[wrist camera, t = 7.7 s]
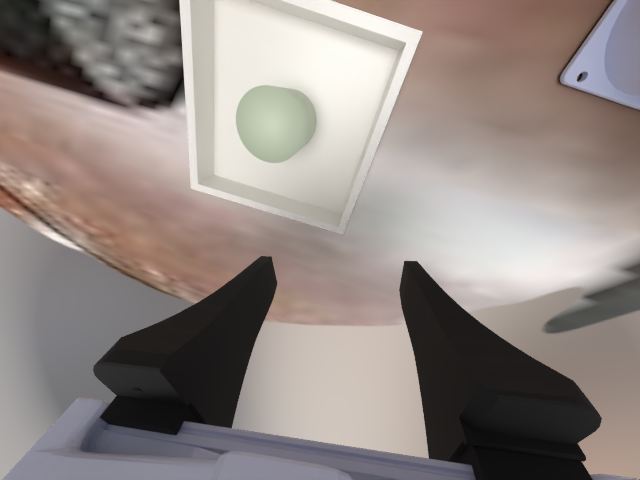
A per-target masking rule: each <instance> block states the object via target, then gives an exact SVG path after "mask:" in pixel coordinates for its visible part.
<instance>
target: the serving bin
mask: <svg viewBox="0 0 640 480" xmlns="http://www.w3.org/2000/svg"><path fill="white" fill-rule="evenodd" d="M180 16H181V33H182V49H183V66H184V82H185V98H186V115H187V131H188V147H189V164H190V180H191V189H194V190H198V191H201V192H204V193H207V194H211V195H214V196H217V197H220V198H224V199H227V200H230V201H233V202H237V203H240V204H243V205H247V206H250V207H253V208H256V209H260V210H263V211H266V212H269V213H273V214H276V215H279V216H283V217H286V218H289V219H292V220H296V221H299V222H302V223H305V224H309V225H312V226H315V227H318V228H322V229H325V230H328V231H332V232H335V233H338V234H341V235H343V234H344V231H345V229H346V226H347V223H348V221H349V218H350V216H351V213H352V211H353V208H354V206H355V203H356V201H357V198H358V195H359V193H360V190H361V188H362V185H363V183H364V180H365V178H366V175H367V172H368V170H369V167H370V165H371V162H372V160H373V157H374V155H375V152H376V150H377V147H378V144H379V142H380V139H381V137H382V134H383V132H384V129H385V127H386V124H387V121H388V119H389V116H390V114H391V111H392V109H393V106H394V104H395V101H396V99H397V96H398V93H399V91H400V88H401V86H402V83H403V81H404V78H405V76H406V73H407V70H408V68H409V65H410V63H411V60H412V58H413V55H414V53H415V50H416V48H417V45H418V42H419V40H420V37H421V35H422V31H419V30H416V29H413V28H410V27H407V26H404V25H401V24H398V23H395V22H392V21H389V20H386V19H384V18H381V17H378V16H375V15H372V14H369V13H366V12H363V11H360V10H357V9H354V8H351V7H348V6H345V5H342V4H339V3H337V2H334V1H331V0H180ZM261 85H269V86H276V87H283V88H290V89H295V90H298V91H300V92H302V93H303V94H305V95H306V96H307V97H308V98H309V99H310V101H311V102H312V104H313V106H314V109H315V112H316V117H317V124H316V130H315V132H314V135H313V137H312V138H311V139H310V141H309V142H308V143H307V144H305V145H304V146H303V147H302V148H301V149H300V150H299V151H298V152H297V153H296V154H294V155H293V156H292V157H291V158H290V159H288V160H286V161H284V162H280V163H269V162H265V161H262V160H260V159H258V158H256V157H255V156H254V155H252V154H251V153H250V152H249V151H248V150H247V149H246V147H245V146H244V144H243V143H242V141H241V139H240V137H239V134H238V131H237V126H236V111H237V107H238V104H239V102H240V100H241V98H242V97H243V96H244V94H245V93H246V92H248V91H249V90H250V89H252V88H254V87H257V86H261Z"/></svg>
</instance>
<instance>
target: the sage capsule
mask: <svg viewBox="0 0 640 480" xmlns="http://www.w3.org/2000/svg"><path fill="white" fill-rule="evenodd" d="M316 124H317V117H316V112H315V109H314V106H313V104H312V102H311V101H310V99H309V98H308V97H307V96H306V95H305V94H303V93H302V92H300V91H298V90H295V89H290V88H283V87H276V86H269V85H261V86H257V87H254V88H252V89H250V90H249V91H248V92H246V93H245V94H244V96H243V97H242V98H241V100H240V102H239V104H238V107H237V111H236V126H237V131H238V134H239V137H240V139H241V141H242V143H243V144H244V146H245V147H246V149H247V150H248V151H249V152H250V153H251V154H252V155H254V156H255V157H256V158H258V159H260V160H262V161H265V162H269V163H280V162H284V161H286V160H288V159H290V158H291V157H292V156H293V155H294V154H296V153H297V152H298V151H299V150H300V149H301V148H302V147H303V146H304V145H305V144H307V143H308V142H309V141H310V139H311V138H312V137H313V135H314V132H315V130H316Z"/></svg>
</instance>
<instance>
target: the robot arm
mask: <svg viewBox="0 0 640 480" xmlns="http://www.w3.org/2000/svg"><path fill="white" fill-rule="evenodd" d="M580 73H582V78H581V79H580V80H579V81H577V77H578V75H579V74H580ZM560 81H561V83H562V84H564V85H567V86H570V87H573V88H576V89H579V90H582V91H584V92H587V93H590V94H593V95H596V96H599V97H602V98H605V99H608V100H611V101H614V102H617V103H620V104H623V105H626V106H629V107H632V108H635V109H637V110H640V0H614V1H613V2H612V3H611V5H610V6H609V8H608V9H607V10H606V12H605V13H604V15H603V16H602V17H601V19H600V20H599V22H598V23H597V25H596V26H595V27H594V29H593V30H592V32H591V33H590V34H589V36H588V37H587V39H586V40H585V41H584V43H583V44H582V46H581V47H580V48H579V50H578V51H577V53H576V54H575V56H574V57H573V58H572V60H571V61H570V63H569V64H568V65H567V67H566V68H565V70H564V71H563V73H562V74H561V77H560ZM276 287H277V280H276V276H275V271H274V267H273V262H272V257H266V256H261V257H260V258H258V259H257V260H256V261H254V262H253V263H252V264H251V265H250V266H248V267H247V268H246V269H245V270H243V271H242V272H241V273H240V274H238V275H237V276H236V277H235V278H233V279H232V280H231V281H229V282H228V283H227V284H225V285H224V286H222V287H221V288H220V289H218V290H217V291H215V292H214V293H212V294H211V295H209V296H208V297H206V298H205V299H203V300H201V301H200V302H198V303H196V304H195V305H193V306H191V307H189V308H187V309H185V310H183V311H182V312H180V313H178V314H176V315H174V316H172V317H169V318H167V319H165V320H163V321H161V322H159V323H157V324H154V325H152V326H149V327H147V328H144V329H142V330H139V331H137V332H134V333H132V334H129V335H126V336H124V337H121V338H120V339H119V341H117V342H116V343H115V345H114V346H113V347H112V348H111V349H110V350H109V351H108V352H107V353H106V354H105V355H104V356H103V357H102V358H101V359H100V360H99V361H98V362H97V363H96V364H95V365H94V370H93V371H94V374H95V376H96V377H97V378H98V379H99V380H100V381H101V382H102V383H103V384H104V385H106V386H107V387H108V388H109V389H110V390H111V391H112V392H113V393H115V394H116V395H117V396H116V397H115V399H114V400H113V401H112V402H111V404H110V403H108V402H106V401H103V400H97V399H90V398H83V397H80V398H77V399H76V400H75V402H74V403H73V404H72V405H71V406H70V407H69V408H68V409H67V410H66V411H65V412H64V414H63V415H61V417H60V418H59V419H58V420H57V421H56V422H55V423H54V425H52V426H51V427H50V429H49V430H48V431H47V432H46V433H45V434H44V435H43V436H42V437H41V438H40V439H39V440H38V442H37V443H36V444H35V445H34V446H33V447H32V448H31V449H30V450H29V451H28V452H27V453H26V455H25V456H24V457H23V458H22V459H21V460H20V461H19V462H18V463H17V464H16V465H15V466H14V468H13V469H12V470H11V471H10V472H9V473H8V474H7V475H6V476H5V477H4V478H3V480H640V479H634V478H627V477H621V476H614V475H606V474H594V475H589V473H588V471H587V470H586V468H585V467H584V465H583V463H582V462H581V461H585V460H586V457H585V455H584V453H583V452H582V450H581V449H580V447H579V445H578V444H577V443H578V442H580V441H581V440H583V439H584V438H586V437H587V436H589V435H590V434H592V433H593V432H595V431H596V430H597V429H598V428H599V427H600V423H601V419H602V418H601V417H600V415H599V413H598V412H597V410H596V409H595V408H594V406H593V405H592V404H591V403H590V401H589V400H588V398H587V397H586V396H585V395H584V393H583V392H582V391H581V390H580V388H579V387H578V386H577V385H576V383H575V382H574V381H573V380H571V379H569V378H567V377H566V376H564V375H562V374H560V373H558V372H557V371H555V370H553V369H551V368H550V367H548V366H546V365H544V364H542V363H541V362H539V361H537V360H535V359H534V358H532V357H531V356H529V355H527V354H525V353H524V352H522V351H521V350H519V349H518V348H516V347H514V346H513V345H511V344H510V343H508V342H507V341H505V340H504V339H502V338H501V337H499V336H498V335H497V334H495V333H494V332H492V331H491V330H490V329H488V328H487V327H485V326H484V325H483V324H481V323H480V322H479V321H477V320H476V319H475V318H474V317H473V316H471V315H470V314H469V313H468V312H466V311H465V310H464V309H463V308H462V307H460V306H459V305H458V304H457V303H456V302H455V301H454V300H453V299H452V298H451V297H450V296H449V295H448V294H447V293H446V292H445V291H444V290H443V289H442V288H441V287H440V286H439V285H438V284H437V283H436V282H435V281H434V280H433V279H432V278H431V277H430V275H429V274H428V273H427V272H426V271H425V270H424V269H423V268H422V266H421V265H420V264H419V263H418V262H417V261H404V266H403V272H402V278H401V284H400V298H401V305H402V310H403V314H404V317H405V321H406V325H407V328H408V332H409V336H410V339H411V343H412V347H413V351H414V355H415V361H416V366H417V373H418V378H419V385H420V392H421V398H422V405H423V413H424V420H425V428H426V436H427V444H428V453H429V459H428V458H420V457H415V456H408V455H402V454H395V453H389V452H382V451H375V450H368V449H363V448H356V447H349V446H343V445H336V444H329V443H323V442H317V441H310V440H303V439H297V438H291V437H284V436H278V435H271V434H265V433H258V432H251V431H245V430H239V429H232V424H233V419H234V415H235V411H236V407H237V402H238V399H239V395H240V391H241V387H242V384H243V380H244V376H245V373H246V369H247V366H248V363H249V359H250V356H251V353H252V350H253V347H254V343H255V341H256V338H257V335H258V333H259V331H260V328H261V326H262V324H263V322H264V319H265V317H266V315H267V312H268V310H269V308H270V305H271V303H272V300H273V297H274V294H275V290H276Z"/></svg>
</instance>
